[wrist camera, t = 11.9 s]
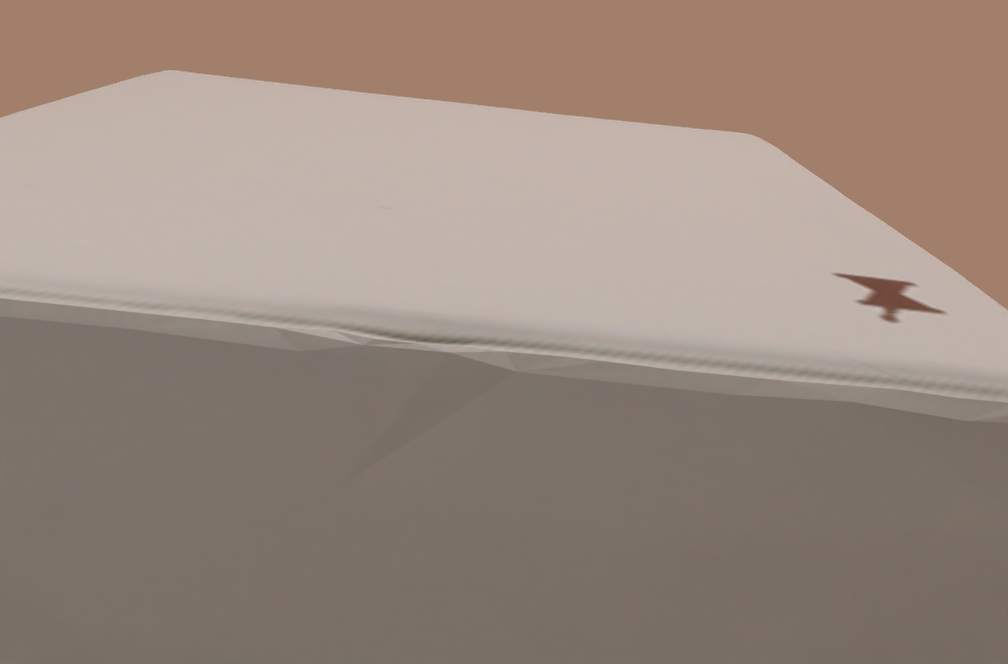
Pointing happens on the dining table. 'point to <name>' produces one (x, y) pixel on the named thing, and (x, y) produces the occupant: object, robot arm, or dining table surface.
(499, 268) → the supplement box
